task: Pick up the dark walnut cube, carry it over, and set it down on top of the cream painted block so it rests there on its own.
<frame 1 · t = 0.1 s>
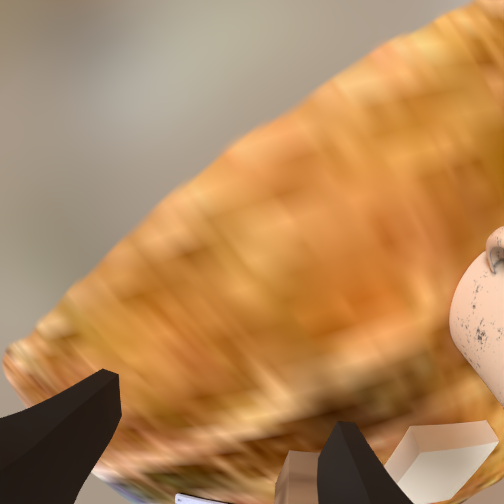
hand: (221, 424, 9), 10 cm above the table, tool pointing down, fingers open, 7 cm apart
cream block: (428, 454, 22), on the table
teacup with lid: (488, 285, 17), on the table
walnut cube: (312, 470, 23), on the table
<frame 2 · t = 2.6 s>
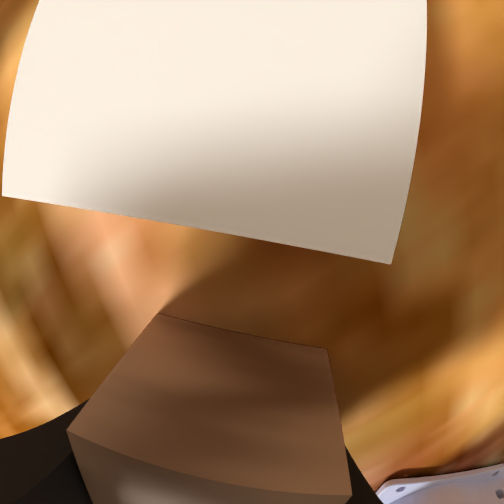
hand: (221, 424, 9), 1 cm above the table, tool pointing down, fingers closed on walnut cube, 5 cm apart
cream block: (226, 52, 8), on the table
walnut cube: (228, 397, 11), on the table, touching gripper
when the fingers open (6 cm above the table, at t = 6.1 s): walnut cube drops 2 cm, resting on cream block.
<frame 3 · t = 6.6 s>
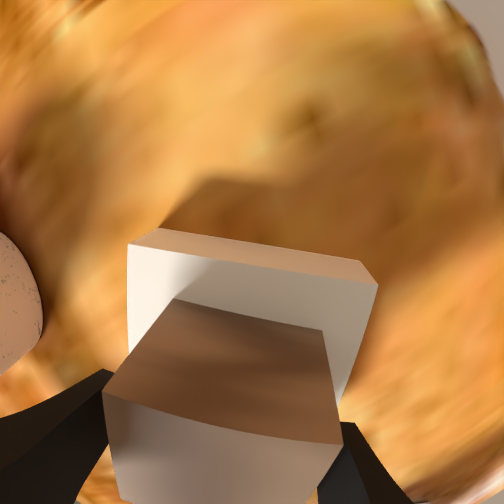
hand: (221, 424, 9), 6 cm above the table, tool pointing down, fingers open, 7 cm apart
cream block: (244, 330, 15), on the table, touching walnut cube
walnut cube: (234, 375, 12), point 3 cm above the table, touching cream block
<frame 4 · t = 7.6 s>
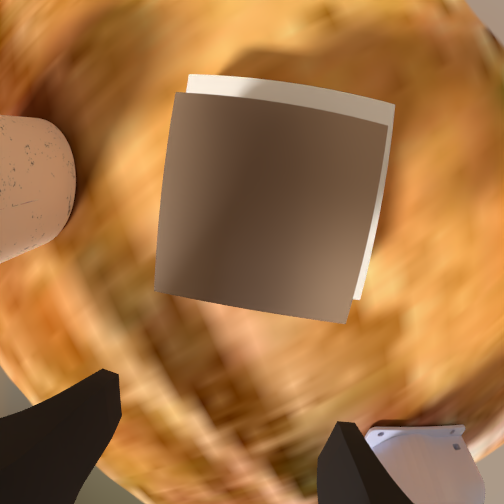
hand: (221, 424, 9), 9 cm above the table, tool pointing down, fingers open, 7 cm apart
cream block: (279, 181, 17), on the table, touching walnut cube
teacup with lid: (23, 195, 18), on the table
walnut cube: (270, 192, 13), point 3 cm above the table, touching cream block
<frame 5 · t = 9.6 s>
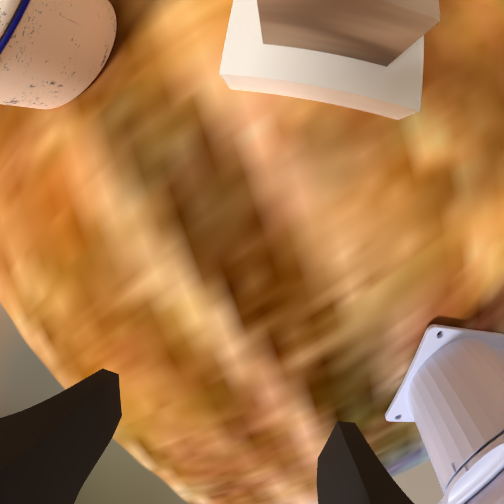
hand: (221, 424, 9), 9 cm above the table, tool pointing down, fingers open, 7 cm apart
cream block: (324, 31, 14), on the table, touching walnut cube
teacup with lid: (51, 65, 16), on the table
walnut cube: (330, 4, 11), point 3 cm above the table, touching cream block
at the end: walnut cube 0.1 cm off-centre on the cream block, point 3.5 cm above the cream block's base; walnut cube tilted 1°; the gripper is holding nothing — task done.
